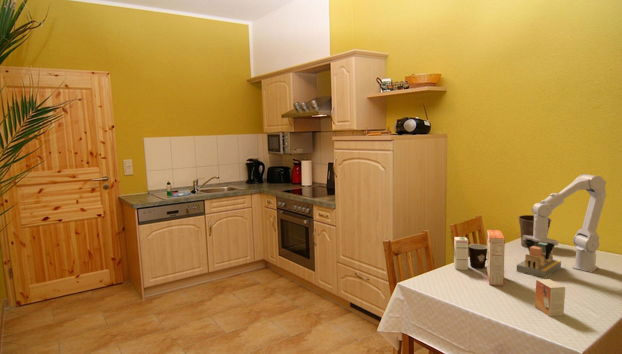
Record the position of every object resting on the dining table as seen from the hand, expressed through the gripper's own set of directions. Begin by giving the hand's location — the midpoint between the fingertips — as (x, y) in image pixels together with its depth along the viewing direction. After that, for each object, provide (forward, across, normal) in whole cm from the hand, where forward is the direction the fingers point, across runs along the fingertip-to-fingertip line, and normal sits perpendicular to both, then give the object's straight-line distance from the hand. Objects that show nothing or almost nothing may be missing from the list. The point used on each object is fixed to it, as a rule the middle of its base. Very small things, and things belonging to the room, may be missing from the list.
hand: (539, 257), depth 185 cm
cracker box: (+6, -8, -28) cm, 30 cm away
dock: (+6, 0, 0) cm, 6 cm away
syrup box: (+6, -26, -24) cm, 36 cm away
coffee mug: (+6, -20, -16) cm, 26 cm away
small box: (+6, +19, -44) cm, 48 cm away
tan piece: (+3, 0, 0) cm, 3 cm away
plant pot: (+6, -16, +38) cm, 42 cm away
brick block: (-2, 0, -5) cm, 5 cm away
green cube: (-2, 0, +5) cm, 5 cm away
